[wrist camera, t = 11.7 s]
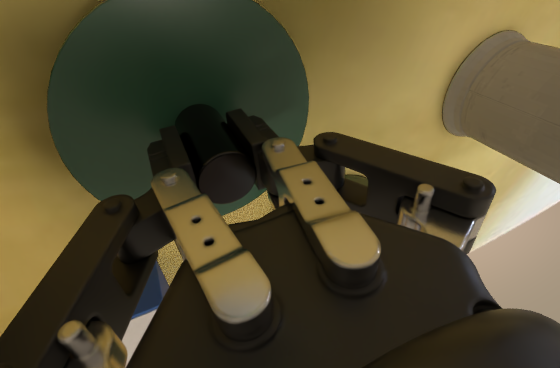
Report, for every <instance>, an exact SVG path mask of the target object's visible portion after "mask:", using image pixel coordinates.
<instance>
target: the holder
mask: <svg viewBox="0 0 560 368" xmlns="http://www.w3.org/2000/svg"><path fill="white" fill-rule="evenodd" d="M443 122H444V125H445V127H446V129H447V130H448V131H449V132H450V133H451V134H453V135H456V136H467V137H471V138H473V139H475V140H477V141H479V142H481V143H483V144H485V145H486V146H488V147H490V148H492V149H494V150H496V151H498V152H500V153H502V154H504V155H506V156H508V157H509V158H511V159H513V160H515V161H517V162H519V163H521V164H523V165H525V166H527V167H529V168H531V169H532V170H534V171H536V172H538V173H540V174H542V175H544V176H546V177H548V178H550V179H552V180H554V181H555V182H557V183H559V184H560V48H556V47H551V46H547V45H543V44H538V43H534V42H530V41H528V40H527V39H526V38H525V37H524V36H523V35H522V34H520V33H518V32H516V31H510V30H508V31H503V32H500V33H497V34H495V35H493V36H491V37H490V38H488V39H486V40H485V41H484V42H483V43H481V44H480V45H479V46H478V47H477V48H476V49H475V50H474V51H473V52H472V53H471V54H470V55H469V56H468V57H467V58H466V60H465V61H464V62H463V63H462V65H461V66H460V68H459V69H458V71H457V72H456V74H455V76H454V78H453V80H452V82H451V83H450V86H449V88H448V91H447V93H446V97H445V100H444V105H443Z"/></svg>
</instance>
